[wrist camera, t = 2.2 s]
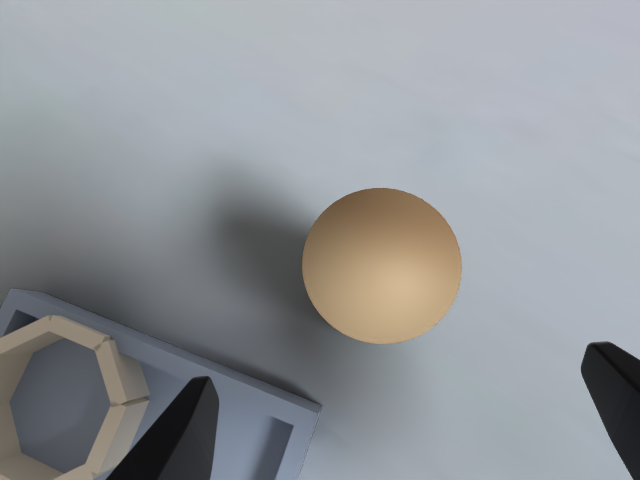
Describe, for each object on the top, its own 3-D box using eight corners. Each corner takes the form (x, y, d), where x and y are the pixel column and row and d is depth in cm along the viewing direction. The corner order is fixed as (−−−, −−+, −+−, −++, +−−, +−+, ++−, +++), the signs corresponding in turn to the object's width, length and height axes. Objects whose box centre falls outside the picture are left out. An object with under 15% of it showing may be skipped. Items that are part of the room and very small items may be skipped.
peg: (396, 352, 19) (434, 368, 10) (317, 323, 20) (279, 311, 10) (421, 273, 20) (480, 214, 10) (344, 247, 21) (332, 169, 11)
